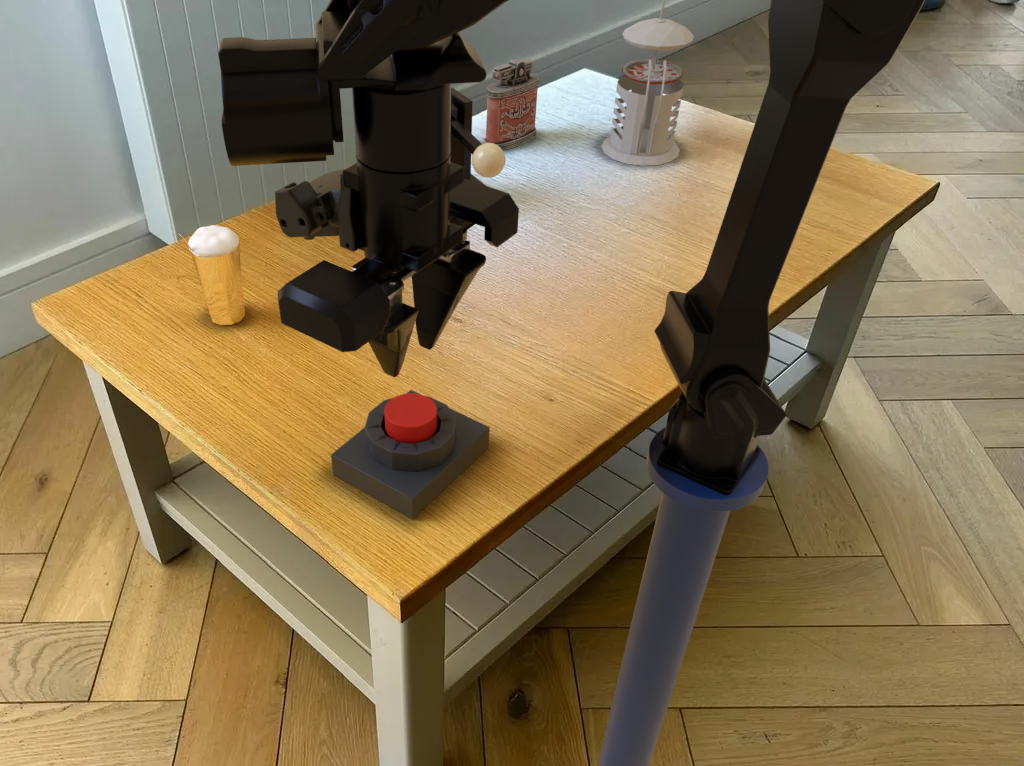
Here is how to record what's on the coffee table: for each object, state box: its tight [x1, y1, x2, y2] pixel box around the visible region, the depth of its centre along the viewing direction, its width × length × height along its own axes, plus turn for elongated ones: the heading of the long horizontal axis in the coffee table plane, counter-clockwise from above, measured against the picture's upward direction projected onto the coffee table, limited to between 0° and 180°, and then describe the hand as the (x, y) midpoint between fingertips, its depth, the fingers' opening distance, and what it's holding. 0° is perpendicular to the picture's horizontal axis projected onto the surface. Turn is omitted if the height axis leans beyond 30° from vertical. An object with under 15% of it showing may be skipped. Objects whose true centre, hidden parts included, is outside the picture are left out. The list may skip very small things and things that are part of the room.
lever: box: [451, 103, 506, 179], centre depth 94 cm, size 13×3×3 cm, turn 28°
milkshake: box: [177, 224, 246, 326], centre depth 83 cm, size 4×5×10 cm
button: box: [384, 393, 437, 444], centre depth 69 cm, size 4×4×2 cm
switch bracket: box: [450, 87, 487, 186], centre depth 100 cm, size 8×10×12 cm
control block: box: [330, 389, 491, 520], centre depth 70 cm, size 8×10×4 cm
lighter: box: [483, 57, 541, 151], centre depth 112 cm, size 8×3×10 cm, turn 130°
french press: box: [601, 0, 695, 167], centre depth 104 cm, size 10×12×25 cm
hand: (409, 360), depth 65 cm, fingers open, 4 cm apart
